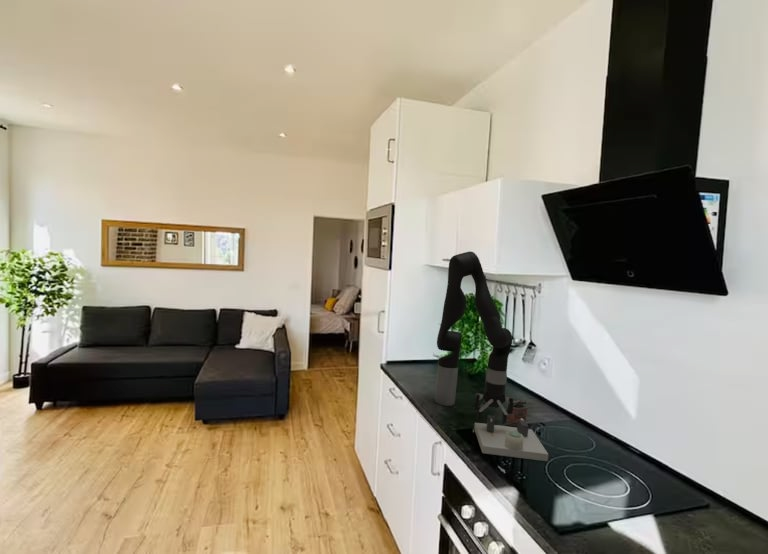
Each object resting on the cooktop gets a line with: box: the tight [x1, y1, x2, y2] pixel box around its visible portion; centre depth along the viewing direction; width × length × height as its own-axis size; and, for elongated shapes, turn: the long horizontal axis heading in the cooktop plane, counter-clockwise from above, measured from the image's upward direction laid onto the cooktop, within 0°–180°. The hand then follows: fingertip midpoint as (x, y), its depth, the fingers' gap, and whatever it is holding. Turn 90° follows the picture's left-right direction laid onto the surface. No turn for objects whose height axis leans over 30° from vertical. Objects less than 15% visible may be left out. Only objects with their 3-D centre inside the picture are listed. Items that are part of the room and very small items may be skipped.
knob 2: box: [516, 418, 530, 437], centre depth 151 cm, size 2×6×4 cm, turn 175°
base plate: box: [473, 422, 549, 462], centre depth 147 cm, size 20×22×7 cm
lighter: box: [507, 399, 529, 427], centre depth 166 cm, size 8×3×10 cm, turn 105°
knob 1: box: [486, 414, 496, 433], centre depth 152 cm, size 2×6×4 cm, turn 166°
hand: (491, 422), depth 153 cm, fingers open, 8 cm apart
